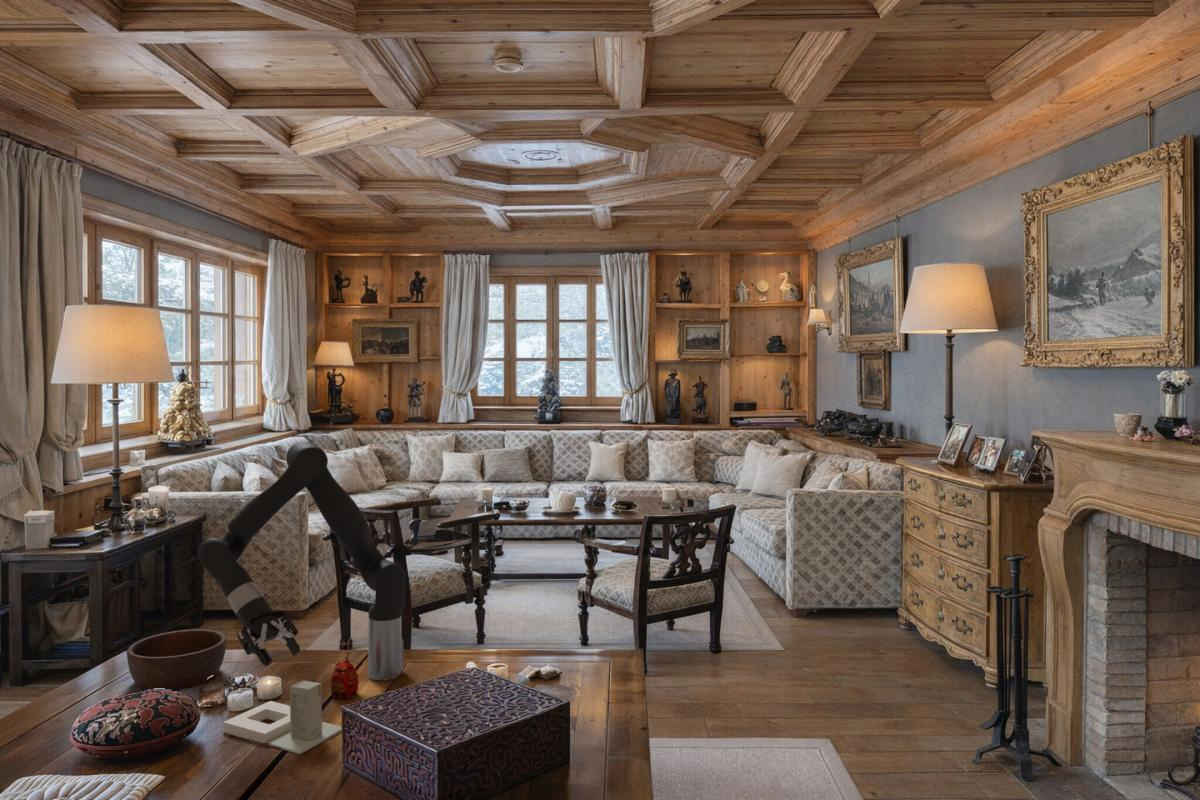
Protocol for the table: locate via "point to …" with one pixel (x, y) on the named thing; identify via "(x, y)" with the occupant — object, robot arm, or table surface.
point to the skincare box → (305, 710)
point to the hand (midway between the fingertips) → (283, 658)
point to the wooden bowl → (176, 658)
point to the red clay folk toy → (344, 679)
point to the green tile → (301, 744)
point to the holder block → (253, 728)
